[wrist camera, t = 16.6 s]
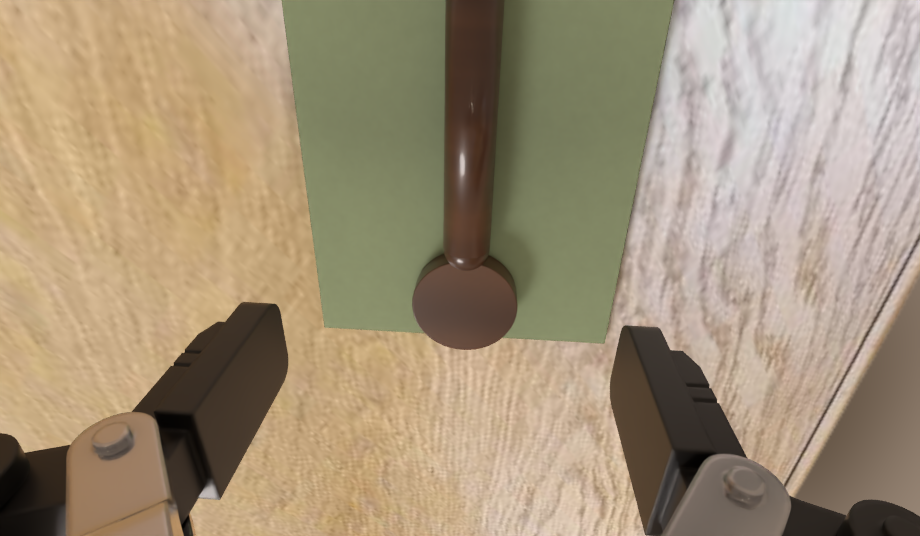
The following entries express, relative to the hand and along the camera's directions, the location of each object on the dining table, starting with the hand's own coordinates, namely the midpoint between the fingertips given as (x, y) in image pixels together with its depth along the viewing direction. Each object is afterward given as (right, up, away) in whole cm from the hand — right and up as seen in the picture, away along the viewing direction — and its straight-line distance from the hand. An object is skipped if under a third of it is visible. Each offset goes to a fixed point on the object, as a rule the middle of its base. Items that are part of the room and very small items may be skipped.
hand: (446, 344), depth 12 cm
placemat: (+1, +6, +9) cm, 11 cm away
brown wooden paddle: (+1, +6, +9) cm, 11 cm away
